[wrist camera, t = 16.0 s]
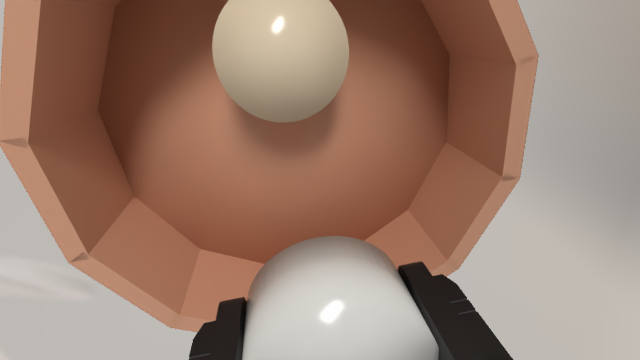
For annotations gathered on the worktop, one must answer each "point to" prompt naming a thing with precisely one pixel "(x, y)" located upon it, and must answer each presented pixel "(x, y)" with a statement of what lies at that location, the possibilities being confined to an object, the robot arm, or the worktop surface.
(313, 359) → the white pebble
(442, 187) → the bowl
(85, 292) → the worktop surface
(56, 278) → the worktop surface
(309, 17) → the sandstone pebble
